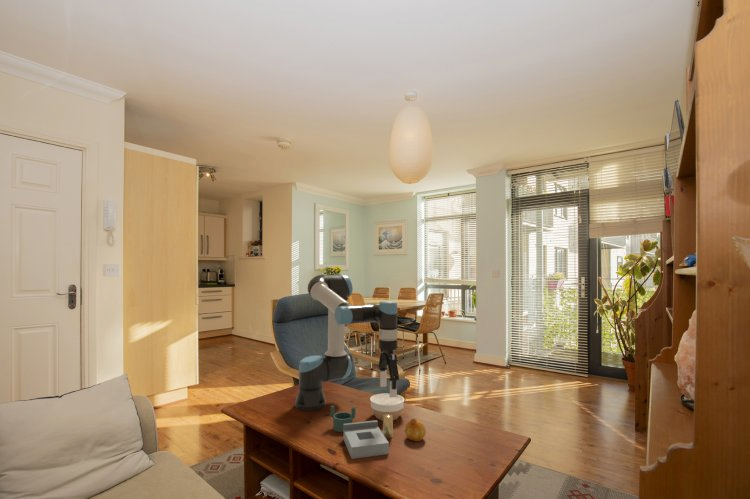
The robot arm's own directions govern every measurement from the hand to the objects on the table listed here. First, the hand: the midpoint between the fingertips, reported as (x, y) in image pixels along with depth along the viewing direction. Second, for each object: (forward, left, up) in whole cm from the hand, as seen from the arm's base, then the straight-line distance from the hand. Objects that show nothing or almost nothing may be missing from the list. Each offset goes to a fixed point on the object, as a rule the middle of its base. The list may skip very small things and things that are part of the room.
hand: (388, 391), depth 154 cm
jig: (+6, -11, -18) cm, 22 cm away
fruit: (+5, +10, -18) cm, 21 cm away
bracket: (-13, -16, -18) cm, 28 cm away
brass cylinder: (0, 0, -18) cm, 18 cm away
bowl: (-20, +6, -18) cm, 28 cm away
